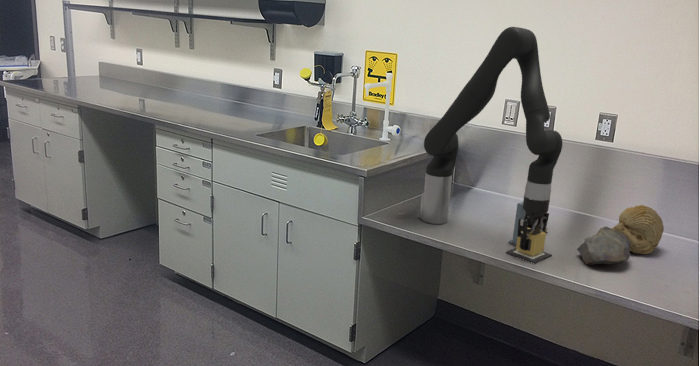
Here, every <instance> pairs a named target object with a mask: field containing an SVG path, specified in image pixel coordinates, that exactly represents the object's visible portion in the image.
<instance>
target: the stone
mask: <svg viewBox="0 0 700 366" xmlns="http://www.w3.org/2000/svg"><path fill="white" fill-rule="evenodd" d="M612 228H613V227H609V226H603V227H600V228H599V229H598V231H597V232H596V234H592V235H591V236H588V237H586V238H585V239H584V242H583V243H581V244H580V245H579V246H578V247H577V249H576V250H577V252H578V253H579V254H580V256H581V257H582V260H583V262H584V264H585V265H589V266H590V265H591V266H593V265H614V264H618V263H621V262H625V261H626V260H629V259H630V258H631V255H632V254H631V253H630V252H631V251H630V241H629V240H628V239H627V238H626V237H625V235H624V234H622V233H620V232H617V231H616V230H614V229H612Z"/></svg>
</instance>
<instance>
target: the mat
mask: <svg viewBox="0 0 700 366" xmlns="http://www.w3.org/2000/svg"><path fill="white" fill-rule="evenodd" d="M505 254H507V255H510V256H513V257H515V258H517V257H518V258H517V259H520V258H521V260H523V259H524V260H523V261H525V260H526V262H528V261H529V262H528V263H531V262H532V263H531V264H533V263H534V264H538V263H539V261H540V262H542V261H545V260H546V259H549V258H551V257H552V256H553V255H552V254H551V253H549V252H546V251H543V252H541V253H538V254H536V255H533V256H532V255H530V254H527V253H524V252H521V251H519V250H516V247H514V248H512V249H510V250H507V251H505ZM537 262H538V263H537Z"/></svg>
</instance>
